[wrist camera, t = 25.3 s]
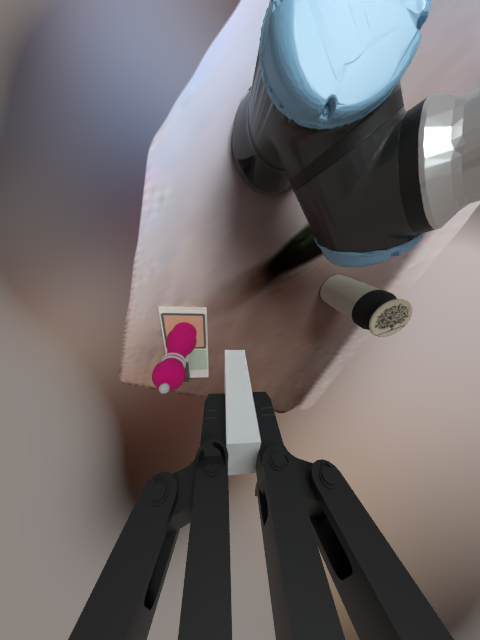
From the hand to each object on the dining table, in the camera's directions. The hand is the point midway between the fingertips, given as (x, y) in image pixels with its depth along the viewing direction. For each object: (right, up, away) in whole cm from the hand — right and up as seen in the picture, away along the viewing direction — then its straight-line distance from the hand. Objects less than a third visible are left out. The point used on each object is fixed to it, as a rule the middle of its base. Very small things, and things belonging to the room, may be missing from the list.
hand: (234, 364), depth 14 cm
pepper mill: (-15, 0, +34) cm, 37 cm away
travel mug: (+26, +12, +33) cm, 44 cm away
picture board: (-15, -4, +37) cm, 40 cm away
